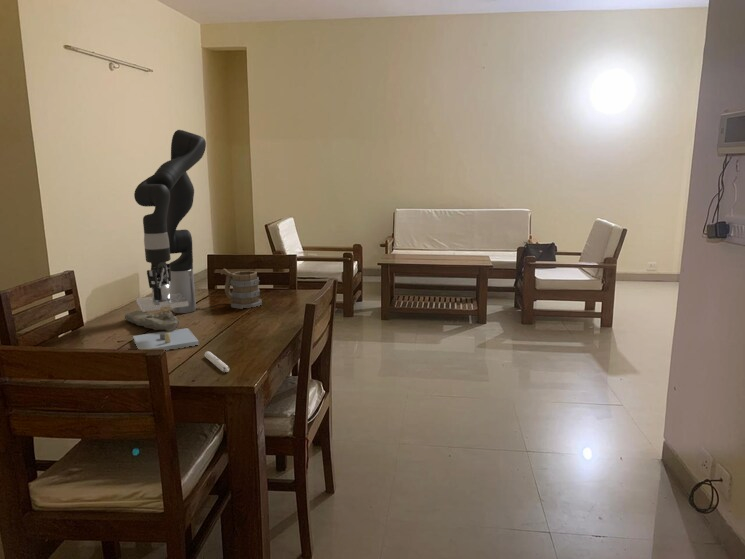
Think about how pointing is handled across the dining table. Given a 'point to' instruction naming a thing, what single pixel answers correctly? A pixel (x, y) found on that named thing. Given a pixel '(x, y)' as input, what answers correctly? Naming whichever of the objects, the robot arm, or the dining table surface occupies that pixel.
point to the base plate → (160, 344)
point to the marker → (216, 361)
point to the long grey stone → (153, 320)
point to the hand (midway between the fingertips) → (161, 297)
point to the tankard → (242, 288)
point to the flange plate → (158, 305)
